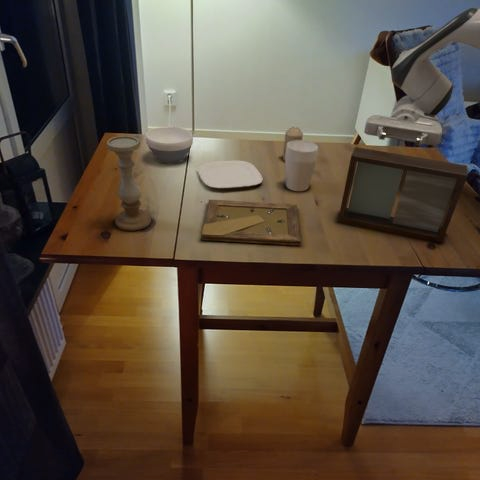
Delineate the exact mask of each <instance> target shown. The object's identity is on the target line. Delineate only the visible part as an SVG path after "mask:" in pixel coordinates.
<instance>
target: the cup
mask: <svg viewBox="0 0 480 480" xmlns="http://www.w3.org/2000/svg"><path fill="white" fill-rule="evenodd" d="M318 152H319V145H318V144H316V143H315V142H312V141H311V140H310V141H309V140H306V139H305V140H304V139H302V140H294V141H290V142H288V143H287V148H286V153H285V161H284V162H285V163H284V164H285V186H286V188H287V189H289V190H290V191H294V192H304V191H306V190H308V189H309V187H310V185H311V180H312V177H313V174H314V169H315V167H316V164H317V160H318V154H319V153H318Z"/></svg>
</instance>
